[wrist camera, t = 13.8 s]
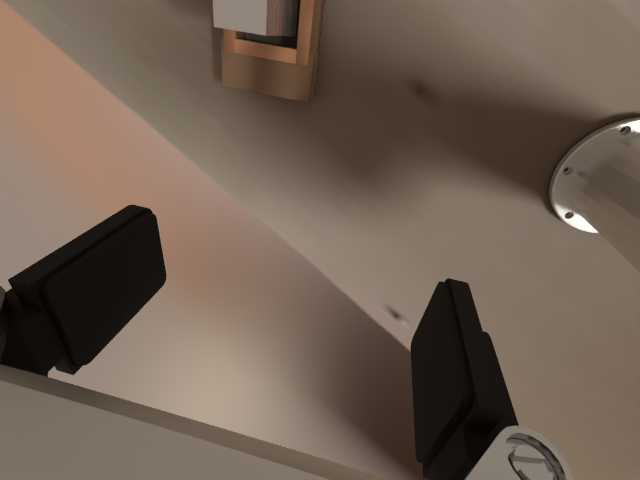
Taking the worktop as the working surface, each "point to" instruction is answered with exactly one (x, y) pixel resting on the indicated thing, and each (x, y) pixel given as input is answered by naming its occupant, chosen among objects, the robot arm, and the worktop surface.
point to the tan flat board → (275, 59)
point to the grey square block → (257, 16)
